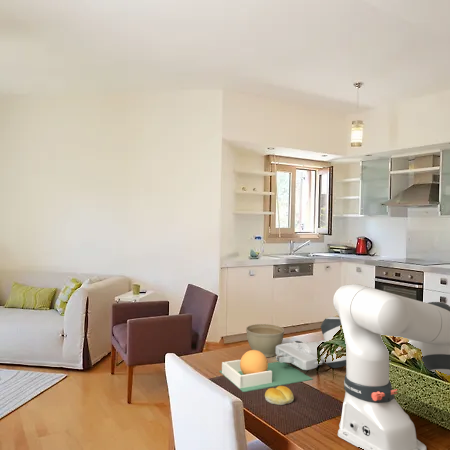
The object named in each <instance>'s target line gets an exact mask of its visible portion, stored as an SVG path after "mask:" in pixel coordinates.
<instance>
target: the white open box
mask: <svg viewBox="0 0 450 450" xmlns="http://www.w3.org/2000/svg"><path fill="white" fill-rule="evenodd" d="M240 361H241V359H235V360H229V361H222V362H221V370H222V374H221V375H223V374H224V375H225V376H226V377H227V378H228V379H229V380H228V379H227V378H226V377H225V376H224V375H223V376H224V377H225V378H226V379H227V380H228V381H230V380H231V381H232V382H233V383H234V384H235V385H236V387H237V386H238V387H239V388H245V387H251V386H257V385H262V384H268V383H272V371H271V370H270V371H264V372H258V373H252V374H246V375H240V374H239V373H238V372H239V371H241V368H240ZM231 381H230V382H231ZM232 382H231V383H232ZM233 383H232V384H233ZM234 384H233V385H234ZM235 385H234V386H235ZM238 387H237V388H238ZM239 388H238V389H239Z"/></svg>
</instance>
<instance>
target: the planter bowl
mask: <svg viewBox="0 0 450 450" xmlns="http://www.w3.org/2000/svg"><path fill="white" fill-rule="evenodd" d="M245 330H246V338H247V342H248V345H249V346H250V348H251V350H257V351H260V352H262V353H263V354H264V355H265V357H266V358H272V357H274V356H277V355H276V346H277V345H280V344H283V340H284V333H285V329H284V328H283V327H282V326H279V325H275V324H269V323H267V324H266V323H257V324H250V325H248V326H246V329H245Z"/></svg>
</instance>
